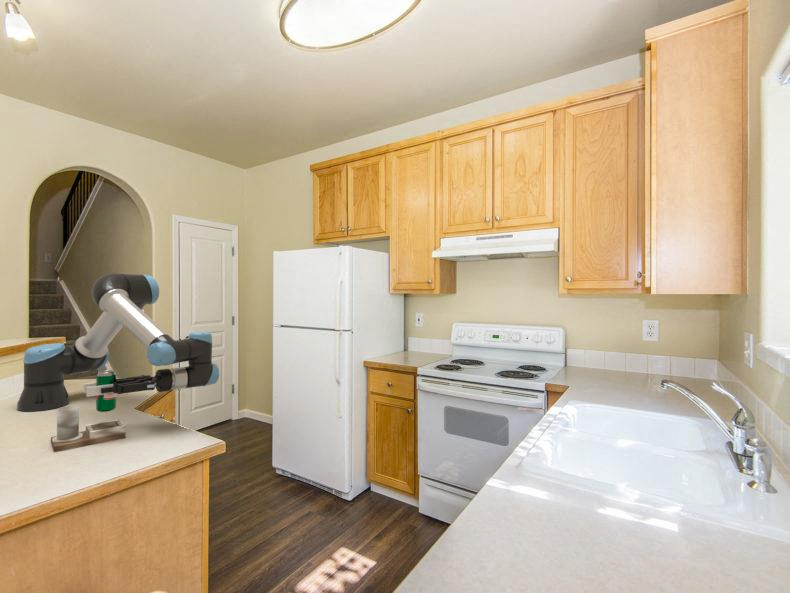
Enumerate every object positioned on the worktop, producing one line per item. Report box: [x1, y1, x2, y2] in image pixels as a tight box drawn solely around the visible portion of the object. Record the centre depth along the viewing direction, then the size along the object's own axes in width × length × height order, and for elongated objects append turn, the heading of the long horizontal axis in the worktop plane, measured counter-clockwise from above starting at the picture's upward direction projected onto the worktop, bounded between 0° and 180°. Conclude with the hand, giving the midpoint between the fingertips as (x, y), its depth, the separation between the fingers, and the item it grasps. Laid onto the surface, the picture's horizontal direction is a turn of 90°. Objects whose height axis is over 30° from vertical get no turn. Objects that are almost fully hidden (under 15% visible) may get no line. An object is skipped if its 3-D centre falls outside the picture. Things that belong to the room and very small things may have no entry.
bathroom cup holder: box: [50, 405, 127, 453], centre depth 123 cm, size 17×10×10 cm, turn 135°
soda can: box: [95, 369, 117, 413], centre depth 125 cm, size 5×5×12 cm
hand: (85, 390), depth 121 cm, fingers closed on soda can, 5 cm apart
